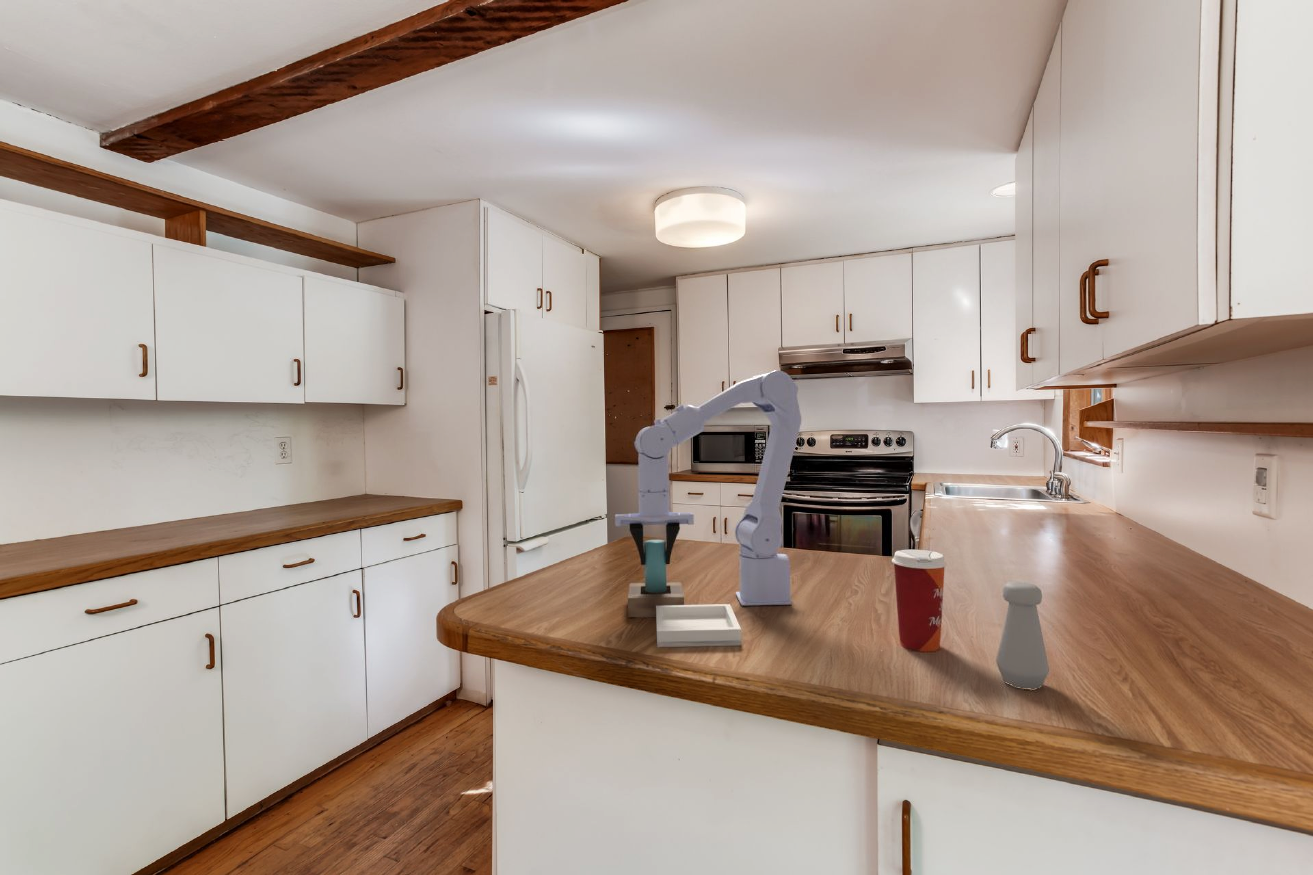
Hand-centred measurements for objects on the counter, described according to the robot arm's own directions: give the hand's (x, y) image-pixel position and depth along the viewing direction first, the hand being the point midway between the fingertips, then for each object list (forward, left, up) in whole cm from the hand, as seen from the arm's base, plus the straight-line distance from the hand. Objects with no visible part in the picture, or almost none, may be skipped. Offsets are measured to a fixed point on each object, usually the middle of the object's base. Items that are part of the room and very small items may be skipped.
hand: (655, 563), depth 112 cm
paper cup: (-40, +21, -9) cm, 46 cm away
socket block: (0, 0, -8) cm, 8 cm away
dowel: (0, 0, -5) cm, 5 cm away
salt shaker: (-47, +35, -9) cm, 59 cm away
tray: (-6, +13, -8) cm, 17 cm away
